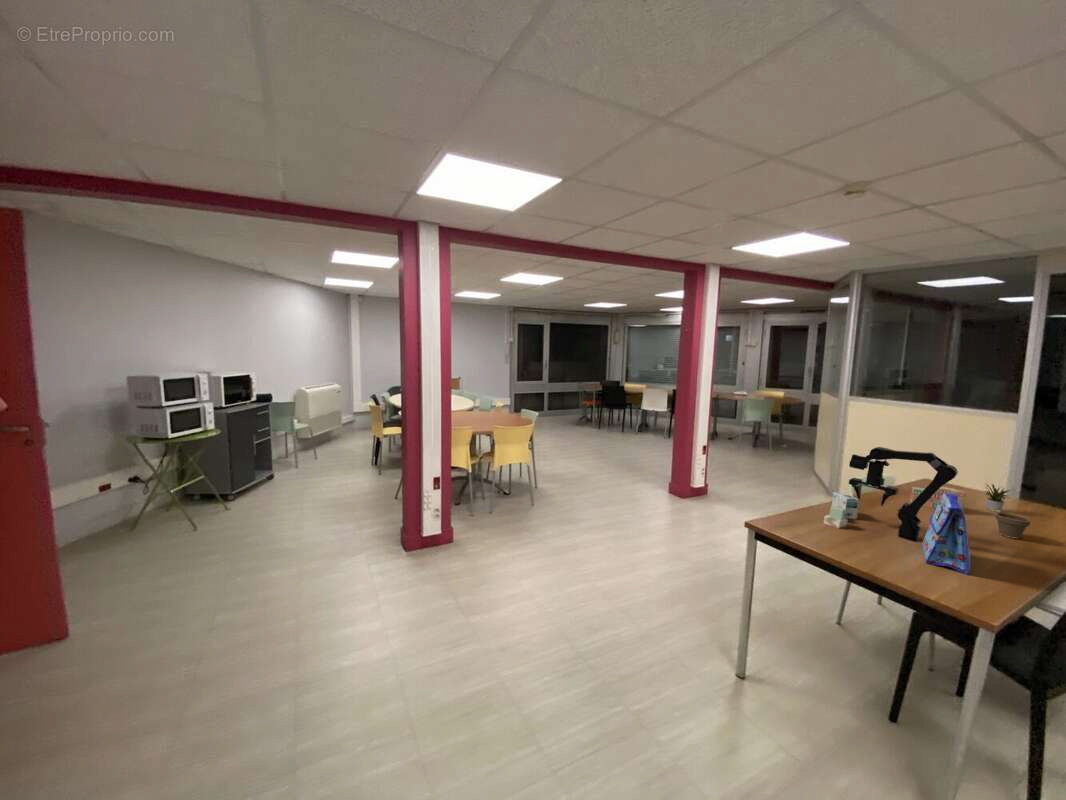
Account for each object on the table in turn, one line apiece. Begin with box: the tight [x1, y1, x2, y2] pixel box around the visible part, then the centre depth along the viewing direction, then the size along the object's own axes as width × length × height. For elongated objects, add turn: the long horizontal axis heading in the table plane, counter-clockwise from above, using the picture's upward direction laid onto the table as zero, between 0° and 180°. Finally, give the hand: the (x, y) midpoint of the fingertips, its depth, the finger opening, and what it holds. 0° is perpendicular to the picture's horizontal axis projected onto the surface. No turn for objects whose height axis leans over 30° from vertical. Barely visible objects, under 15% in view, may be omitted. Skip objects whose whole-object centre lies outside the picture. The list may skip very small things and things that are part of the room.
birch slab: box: [823, 514, 849, 529], centre depth 212 cm, size 7×7×4 cm
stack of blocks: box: [909, 486, 966, 511], centre depth 244 cm, size 21×6×12 cm, turn 55°
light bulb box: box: [831, 491, 860, 520], centre depth 225 cm, size 11×7×11 cm, turn 179°
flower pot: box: [994, 512, 1031, 539], centre depth 208 cm, size 12×11×10 cm
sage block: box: [828, 505, 845, 521], centre depth 211 cm, size 5×5×5 cm
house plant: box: [983, 483, 1017, 511], centre depth 244 cm, size 14×14×16 cm
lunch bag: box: [921, 493, 971, 575], centre depth 178 cm, size 22×14×29 cm, turn 141°
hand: (870, 502), depth 211 cm, fingers open, 9 cm apart
